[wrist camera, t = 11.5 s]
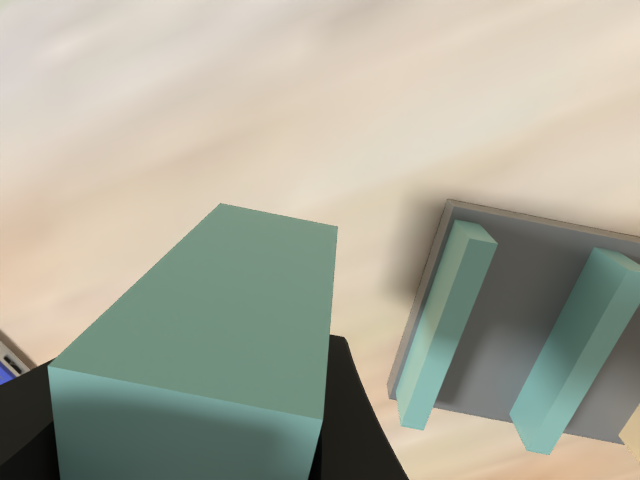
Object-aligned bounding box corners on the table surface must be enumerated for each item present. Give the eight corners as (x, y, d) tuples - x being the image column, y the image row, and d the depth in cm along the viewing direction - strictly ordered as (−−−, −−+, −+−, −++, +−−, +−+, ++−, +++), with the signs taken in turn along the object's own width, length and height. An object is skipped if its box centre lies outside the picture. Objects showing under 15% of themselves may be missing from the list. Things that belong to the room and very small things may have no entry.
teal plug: (304, 379, 12) (263, 651, 6) (206, 360, 12) (75, 615, 6) (337, 226, 10) (322, 419, 4) (220, 202, 10) (47, 366, 4)
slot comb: (729, 451, 20) (791, 510, 17) (387, 383, 20) (393, 433, 17) (872, 283, 16) (982, 326, 13) (447, 199, 16) (468, 223, 13)
